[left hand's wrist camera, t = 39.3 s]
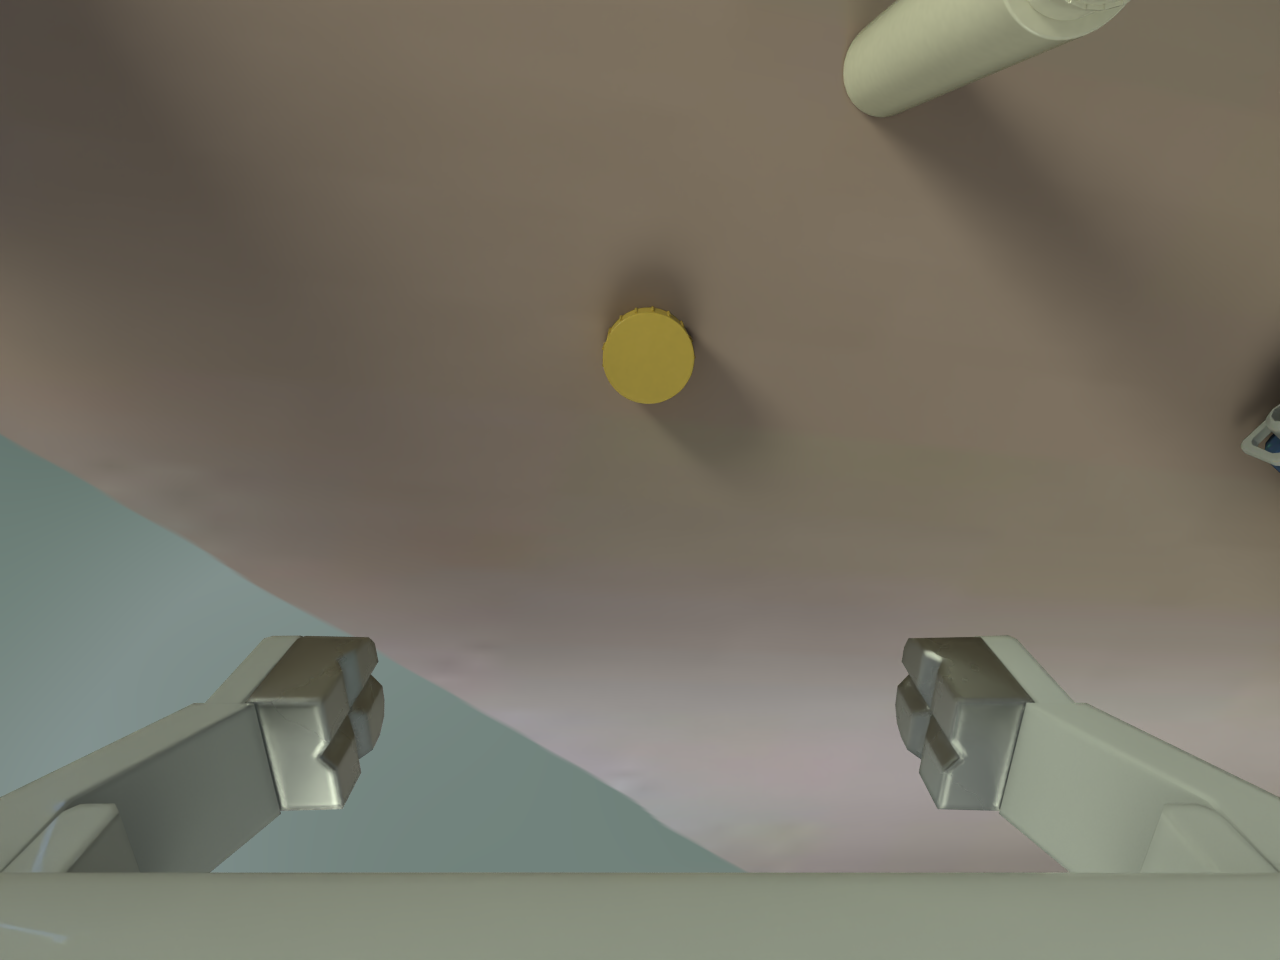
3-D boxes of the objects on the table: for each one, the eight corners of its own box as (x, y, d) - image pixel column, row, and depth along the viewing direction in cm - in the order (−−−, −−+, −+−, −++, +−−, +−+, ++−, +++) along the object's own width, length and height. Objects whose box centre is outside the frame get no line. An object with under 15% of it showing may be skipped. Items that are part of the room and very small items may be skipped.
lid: (694, 305, 36) (697, 311, 34) (691, 395, 37) (694, 405, 35) (603, 305, 36) (600, 310, 34) (604, 395, 37) (602, 405, 35)
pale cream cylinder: (934, 105, 32) (1210, -5, 17) (848, 127, 33) (1040, 40, 17) (926, 6, 31) (1221, -215, 15) (837, 30, 31) (1035, -162, 16)
